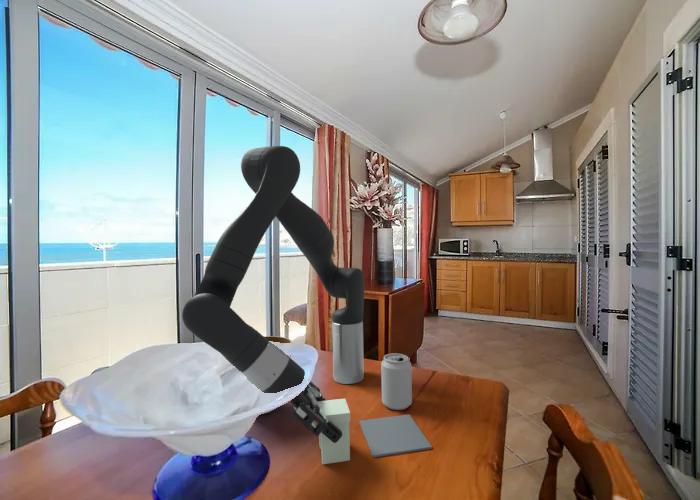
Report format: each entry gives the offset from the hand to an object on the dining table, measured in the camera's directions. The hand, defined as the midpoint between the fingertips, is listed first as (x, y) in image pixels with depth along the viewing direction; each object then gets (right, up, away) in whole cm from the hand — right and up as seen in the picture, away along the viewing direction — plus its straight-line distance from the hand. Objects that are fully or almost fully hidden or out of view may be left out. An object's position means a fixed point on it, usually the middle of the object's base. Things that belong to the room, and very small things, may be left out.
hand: (335, 424), depth 62 cm
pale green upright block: (0, -5, 0) cm, 5 cm away
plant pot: (-19, -6, +18) cm, 27 cm away
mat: (+12, -5, +5) cm, 14 cm away
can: (+15, -5, +18) cm, 24 cm away
